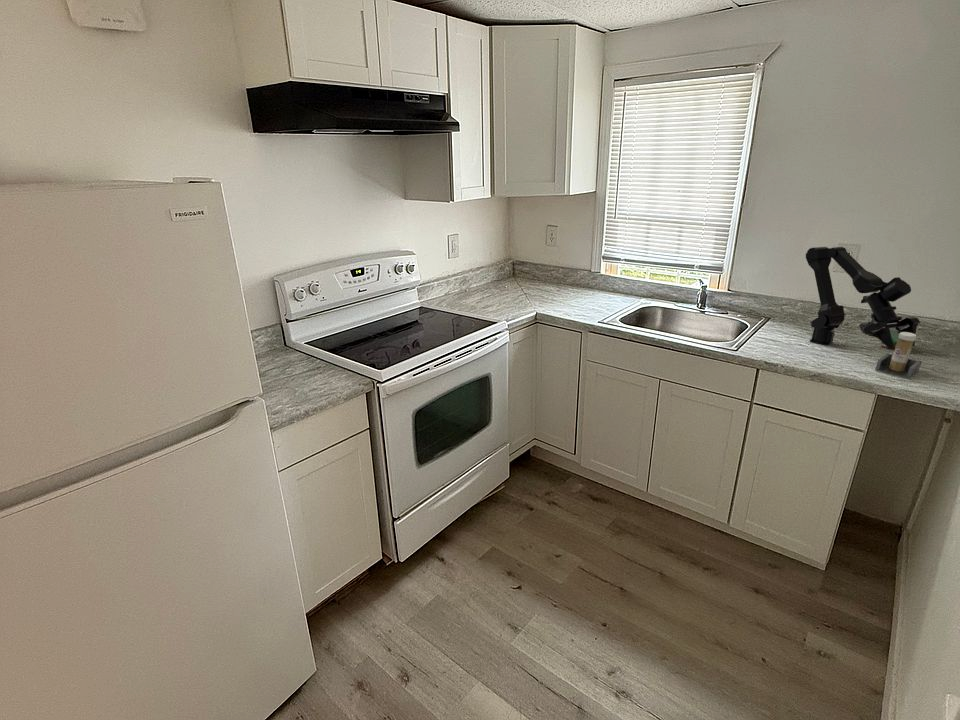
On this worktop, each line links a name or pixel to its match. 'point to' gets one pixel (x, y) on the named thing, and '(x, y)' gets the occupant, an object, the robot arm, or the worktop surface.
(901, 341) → the sprinkles bottle
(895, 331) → the food container
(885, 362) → the dark grey shallow tray
